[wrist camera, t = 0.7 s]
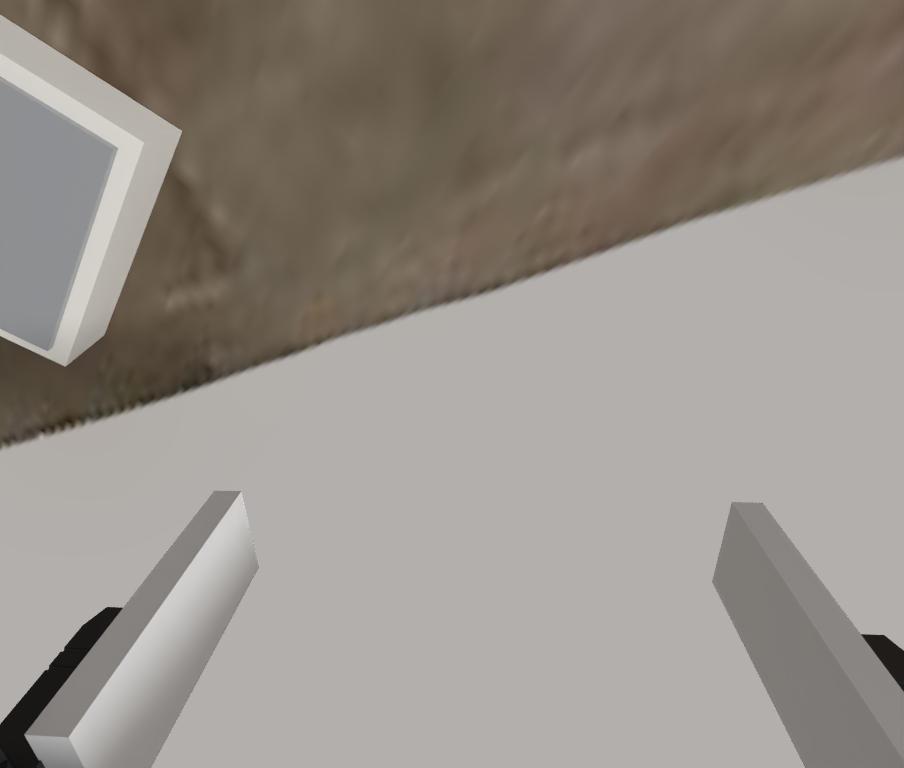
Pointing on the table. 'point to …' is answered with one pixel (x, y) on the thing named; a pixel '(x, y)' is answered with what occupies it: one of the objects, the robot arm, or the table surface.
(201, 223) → the table surface
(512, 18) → the table surface
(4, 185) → the block
